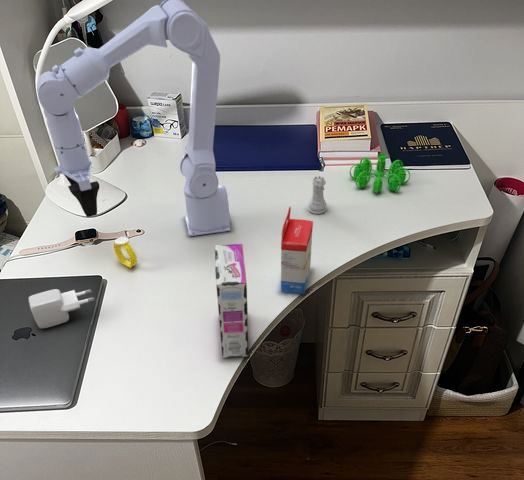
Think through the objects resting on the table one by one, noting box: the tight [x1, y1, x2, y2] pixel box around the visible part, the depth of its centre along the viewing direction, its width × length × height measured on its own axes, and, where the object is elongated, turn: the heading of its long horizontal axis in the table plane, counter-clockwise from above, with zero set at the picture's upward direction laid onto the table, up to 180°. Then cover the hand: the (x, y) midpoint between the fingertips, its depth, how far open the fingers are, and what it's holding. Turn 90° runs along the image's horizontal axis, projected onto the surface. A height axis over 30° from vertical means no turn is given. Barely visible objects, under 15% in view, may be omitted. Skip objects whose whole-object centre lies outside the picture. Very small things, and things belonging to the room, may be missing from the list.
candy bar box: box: [214, 243, 250, 359], centre depth 92 cm, size 11×5×16 cm, turn 5°
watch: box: [113, 236, 138, 269], centre depth 111 cm, size 6×3×6 cm, turn 47°
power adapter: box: [28, 288, 95, 329], centre depth 100 cm, size 11×5×6 cm, turn 115°
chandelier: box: [349, 153, 411, 194], centre depth 134 cm, size 15×15×7 cm
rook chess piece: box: [307, 175, 327, 215], centre depth 125 cm, size 4×4×8 cm
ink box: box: [280, 205, 314, 295], centre depth 103 cm, size 8×5×15 cm, turn 168°
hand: (87, 206), depth 111 cm, fingers open, 7 cm apart
